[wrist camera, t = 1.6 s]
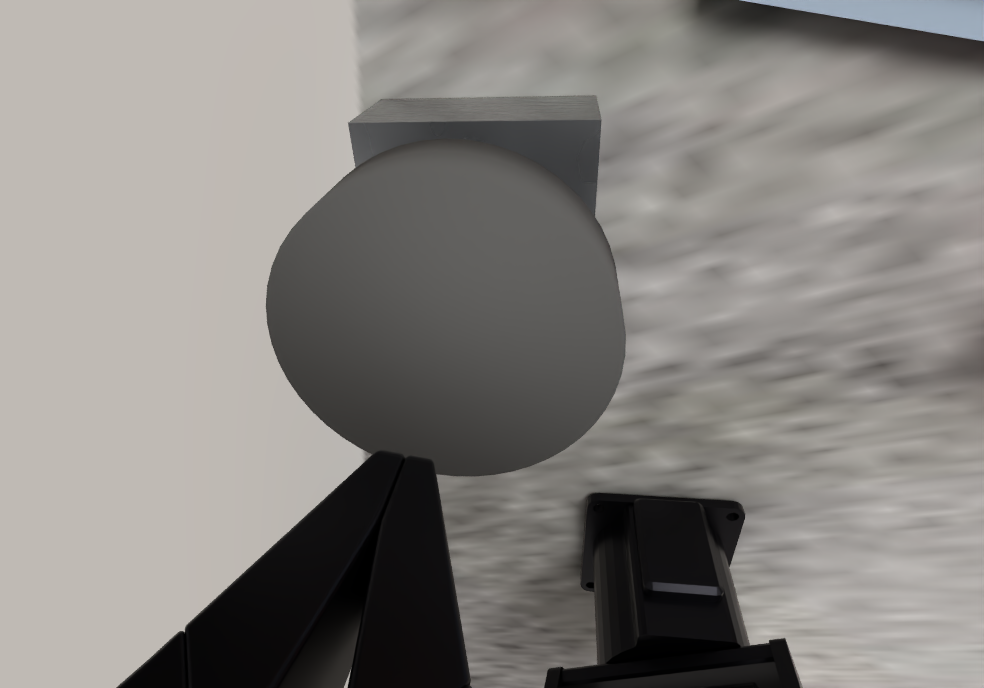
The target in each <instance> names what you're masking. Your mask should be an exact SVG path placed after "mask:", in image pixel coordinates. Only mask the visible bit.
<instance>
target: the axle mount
mask: <svg viewBox="0 0 984 688" xmlns="http://www.w3.org/2000/svg"><path fill="white" fill-rule="evenodd" d="M348 124H349V131H350V137H351V143H352V149H353V154H354V161H355V166H356V167H357V166H359V165H360V164H361V163H363V162H365V161H367V160H368V159H370V158H372V157H374V156H375V155H377V154H379V153H381V152H384V151H387V150H389V149H392V148H394V147H397V146H400V145H404V144H408V143H413V142H417V141H421V140H432V139H445V138H447V139H464V140H473V141H478V142H483V143H488V144H494V145H496V146H499V147H502V148H505V149H508V150H511V151H514V152H517V153H519V154H521V155H523V156H525V157H527V158H529V159H531V160H533V161H535V162H537V163H539V164H540V165H542V166H543V167H545V168H546V169H548V170H549V171H551V172H552V173H554V174H555V175H557V176H558V177H559V178H560V179H561V180H562V181H564V182H565V183H566V184H567V185H568V186H569V187H570V188H571V189H573V190H574V191H575V192H576V193H577V195H578V196H579V197H580V198H581V199H582V200H583V202H584V203H585V204H586V205H587V206H588V207H589V209H590V210H591V212H592V213H593V215H594V216H595V207H596V192H597V177H598V163H599V148H600V133H601V116H600V111H599V106H598V102H597V97H596V96H547V97H491V98H434V99H381V100H380V101H378V102H377V103H375V104H374V105H373V106H371V107H370V108H368V109H367V110H366V111H364V112H363V113H361V114H360V115H359V116H357V117H356V118H354V119H353V120H352V121H350V122H349V123H348Z"/></svg>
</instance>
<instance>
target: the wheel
mask: <svg viewBox="0 0 984 688" xmlns="http://www.w3.org/2000/svg"><path fill="white" fill-rule="evenodd" d="M266 312H267V324H268V329H269V334H270V338H271V342H272V345H273V348H274V351H275V354H276V356H277V359H278V362H279V364H280V366H281V368H282V370H283V371H284V373H285V375H286V377H287V379H288V380H289V382H290V384H291V385H292V387H293V388H294V389H295V391H296V392H297V394H298V395H299V397H300V398H301V399H302V400H303V401H304V402H305V404H306V405H307V406H308V407H309V408H310V409H311V410H312V411H313V413H315V414H316V415H317V416H318V417H319V418H320V419H321V420H322V421H323V422H324V423H325V424H326V425H327V426H329V427H330V428H331V429H333V430H334V431H335V432H336V433H338V434H339V435H340V436H342V437H343V438H345V439H346V440H348V441H349V442H351V443H353V444H354V445H356V446H357V447H359V448H361V449H363V450H365V451H367V452H369V453H371V454H374V453H375V452H377V451H379V450H384V451H390V452H395V453H401V454H403V455H404V456H405V458H406V457H407V456H409V455H412V456H417V457H423V458H428V459H431V460H433V462H434V465H435V471H436V474H440V475H450V476H484V475H495V474H500V473H506V472H511V471H515V470H519V469H522V468H525V467H529V466H532V465H534V464H537V463H539V462H541V461H544V460H546V459H549V458H550V457H552V456H554V455H556V454H558V453H559V452H561V451H563V450H565V449H566V448H567V447H569V446H570V445H572V444H573V443H574V442H576V441H577V440H578V439H580V438H581V437H582V436H583V435H584V434H585V433H586V432H587V431H588V430H589V429H590V428H591V427H592V426H593V425H594V424H595V423H596V421H597V420H598V419H599V417H600V416H601V415H602V414H603V412H604V411H605V410H606V408H607V406H608V404H609V402H610V401H611V399H612V397H613V395H614V393H615V391H616V388H617V385H618V383H619V380H620V377H621V374H622V369H623V364H624V358H625V342H626V334H625V326H624V318H623V311H622V305H621V298H620V292H619V286H618V279H617V273H616V267H615V263H614V259H613V256H612V252H611V249H610V245H609V243H608V241H607V239H606V237H605V234H604V232H603V230H602V228H601V226H600V224H599V223H598V221H597V220H596V218H595V216H594V215H593V213H592V212H591V210H590V209H589V207H588V206H587V205H586V204H585V203H584V202H583V200H582V199H581V198H580V197H579V196H578V195H577V193H576V192H575V191H574V190H573V189H571V188H570V187H569V186H568V185H567V184H566V183H565V182H564V181H562V180H561V179H560V178H559V177H558V176H557V175H555V174H554V173H552V172H551V171H549V170H548V169H546V168H545V167H543V166H542V165H540V164H539V163H537V162H535V161H533V160H531V159H529V158H527V157H525V156H523V155H521V154H519V153H517V152H514V151H511V150H508V149H505V148H502V147H499V146H496V145H494V144H488V143H483V142H478V141H473V140H464V139H447V138H445V139H432V140H421V141H417V142H413V143H408V144H404V145H400V146H397V147H394V148H392V149H389V150H387V151H384V152H381V153H379V154H377V155H375V156H374V157H372V158H370V159H368V160H367V161H365V162H363V163H361V164H360V165H359V166H357V167H356V168H355V169H354V170H352V171H351V172H350V173H349V174H347V175H346V176H345V177H344V178H343V179H342V180H341V181H339V182H338V183H337V184H336V185H335V186H334V187H333V188H332V189H331V190H330V191H329V192H328V193H327V194H326V195H325V196H324V197H323V198H321V199H320V200H319V201H318V202H317V203H316V204H315V205H314V206H313V207H312V208H311V209H310V210H309V211H308V212H307V213H306V214H305V215H304V216H303V217H302V218H301V219H300V220H299V221H298V222H297V224H296V225H295V226H294V227H293V228H292V229H291V231H290V232H289V234H288V235H287V237H286V238H285V240H284V242H283V243H282V245H281V246H280V249H279V251H278V253H277V255H276V258H275V260H274V262H273V265H272V268H271V273H270V277H269V281H268V285H267V298H266Z"/></svg>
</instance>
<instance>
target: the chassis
mask: <svg viewBox="0 0 984 688" xmlns="http://www.w3.org/2000/svg"><path fill="white" fill-rule="evenodd" d="M741 1H747V2H753V3H759V4H765V5H771V6H777V7H783V8H789V9H795V10H801V11H807V12H813V13H819V14H825V15H831V16H837V17H843V18H849V19H855V20H860V21H866V22H872V23H878V24H884V25H890V26H896V27H902V28H908V29H914V30H920V31H926V32H932V33H938V34H944V35H950V36H956V37H962V38H968V39H973V40H979V41H984V0H741Z"/></svg>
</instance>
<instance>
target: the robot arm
mask: <svg viewBox="0 0 984 688" xmlns="http://www.w3.org/2000/svg"><path fill="white" fill-rule="evenodd" d="M597 504H600V505H597ZM744 520H745V512H744V509H743V507H742V505H741V504H740V503H738V502H734V501H721V500H705V499H688V498H671V497H655V496H638V495H622V494H605V493H595V494H592V495H590V496H589V497H588V499H587V505H586V517H585V529H584V541H583V553H582V566H581V587H582V588H583V589H584V590H586V591H592V592H594V593H595V617H596V641H597V664H598V665H593V666H585V667H577V668H569V669H564V668H563V667H556V668H549V669H548V672H547V677H546V682H545V687H544V688H803V687H802V684H801V681H800V678H799V676H798V673H797V670H796V667H795V664H794V662H793V659H792V656H791V653H790V650H789V648H788V645H787V642H786V639H785V638H782V639H774V640H769V643H766V644H758V645H751V646H750V643H749V640H748V636H747V632H746V628H745V625H744V621H743V617H742V614H741V610H740V606H739V602H738V599H737V595H736V591H735V587H734V584H733V580H732V576H731V573H730V569H729V567H730V564H731V561H732V558H733V554H734V551H735V548H736V545H737V542H738V539H739V535H740V532H741V529H742V526H743V523H744ZM351 667H352V668H351ZM350 670H351V673H350V678H349V684H348V688H472V687H471V686H470V681H471V679H470V673H469V668H468V662H467V656H466V650H465V644H464V638H463V632H462V626H461V620H460V614H459V608H458V602H457V596H456V590H455V584H454V578H453V572H452V566H451V560H450V554H449V548H448V542H447V536H446V530H445V524H444V518H443V512H442V506H441V500H440V494H439V489H438V483H437V477H436V471H435V465H434V462H433V460H431V459H428V458H423V457H417V456H412V455H409V456H407V457H406V458H405V456H404V455H403V454H401V453H395V452H390V451H384V450H379V451H377V452H375V453H374V454H373V455H372V456H371V457H370V458H369V459H367V460H366V461H365V462H364V463H363V464H362V465H361V466H360V467H359V468H358V469H357V470H355V471H354V472H353V473H352V474H351V475H350V476H349V477H348V478H347V479H346V480H345V481H343V482H342V483H341V484H340V485H339V486H338V487H337V488H336V489H335V490H334V491H333V492H331V494H329V495H328V496H327V497H326V498H325V499H324V500H323V501H322V502H320V503H319V504H318V505H317V506H316V507H315V508H314V509H313V510H312V511H311V512H310V513H308V514H307V515H306V516H305V517H304V518H303V519H302V520H301V521H300V522H299V523H298V524H297V525H296V526H294V527H293V528H292V529H291V530H290V531H289V532H288V533H287V534H286V535H284V536H283V537H282V538H281V539H280V540H279V541H278V542H277V543H276V544H275V545H273V546H272V547H271V548H270V549H269V550H268V551H267V552H266V553H265V554H264V555H263V556H262V557H261V558H259V559H258V560H257V561H256V562H255V563H254V564H253V565H252V566H251V567H250V568H248V569H247V570H246V571H245V572H244V573H243V574H242V575H241V576H240V577H239V578H237V579H236V580H235V581H234V582H233V583H232V584H231V585H230V586H229V587H228V588H227V589H225V590H224V591H223V592H222V593H221V594H220V595H219V596H218V597H217V598H216V599H214V600H213V601H212V602H211V603H210V604H209V605H208V606H207V607H206V608H205V609H204V610H202V611H201V612H200V613H199V614H198V615H197V616H196V617H195V618H194V619H193V620H192V621H190V622H189V623H188V624H187V625H186V627H185V632H183V631H180V632H178V633H177V634H176V635H175V636H174V637H173V638H172V639H170V640H169V641H168V642H167V643H166V644H165V645H164V646H163V647H162V648H161V649H160V650H158V651H157V652H156V653H155V654H154V655H153V656H152V657H151V658H150V659H149V660H147V661H146V662H145V663H144V664H143V665H142V666H141V667H139V668H138V669H137V670H136V671H135V672H134V673H133V674H132V675H130V676H129V677H128V678H127V679H126V680H125V681H123V682H122V683H121V684H120V685H119V686H118V687H117V688H344V685H345V683H346V680H347V678H348V675H349V672H350Z"/></svg>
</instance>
